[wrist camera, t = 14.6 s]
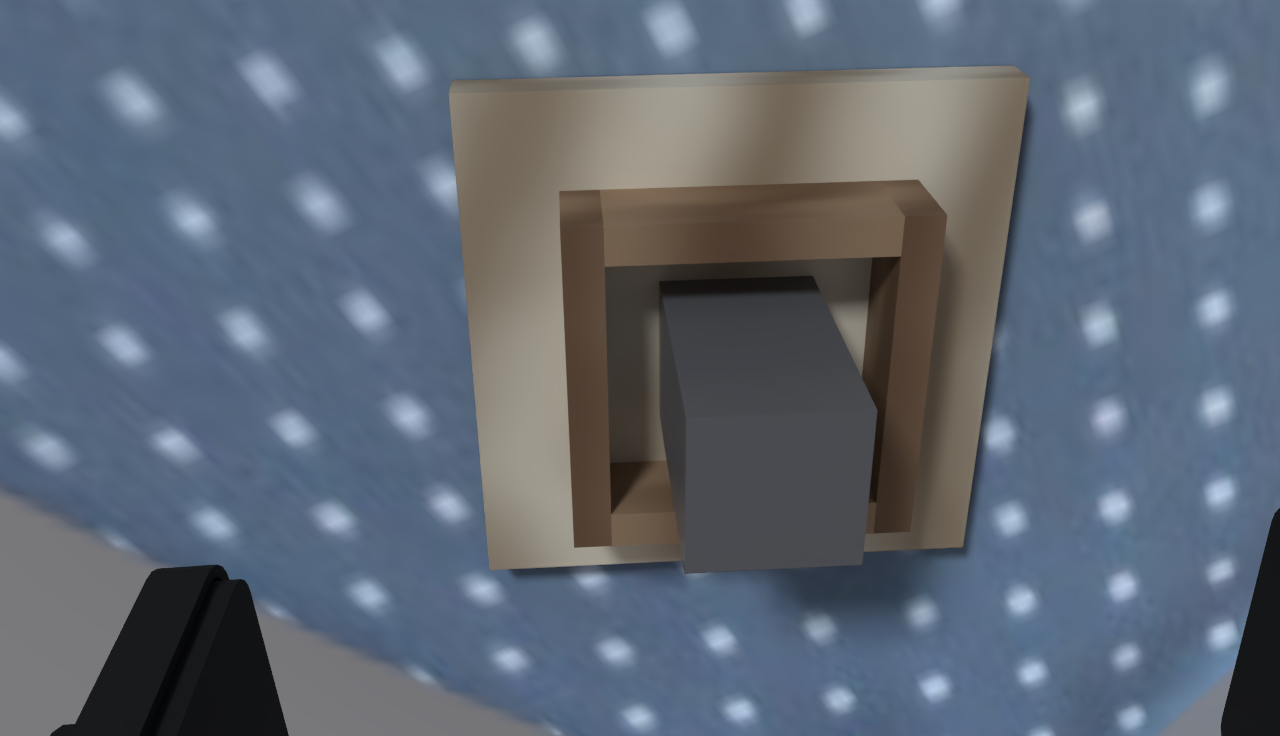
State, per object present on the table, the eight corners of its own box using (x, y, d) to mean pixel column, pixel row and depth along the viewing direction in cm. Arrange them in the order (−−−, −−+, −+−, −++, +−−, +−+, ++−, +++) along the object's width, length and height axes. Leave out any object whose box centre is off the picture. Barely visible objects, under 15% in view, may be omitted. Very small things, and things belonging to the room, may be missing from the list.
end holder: (1013, 65, 30) (1069, 106, 27) (951, 523, 37) (990, 600, 33) (452, 80, 29) (440, 123, 26) (491, 545, 36) (485, 626, 33)
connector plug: (812, 275, 31) (877, 410, 25) (804, 409, 33) (862, 565, 27) (658, 280, 31) (686, 417, 25) (659, 415, 33) (684, 573, 27)
